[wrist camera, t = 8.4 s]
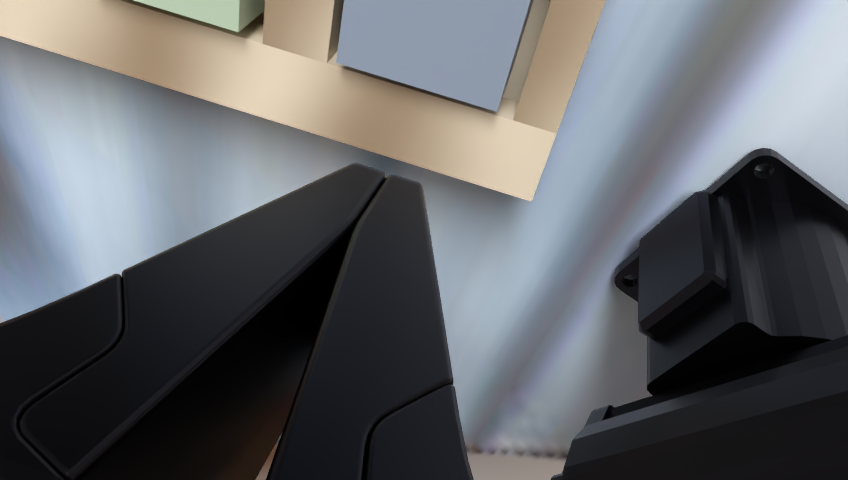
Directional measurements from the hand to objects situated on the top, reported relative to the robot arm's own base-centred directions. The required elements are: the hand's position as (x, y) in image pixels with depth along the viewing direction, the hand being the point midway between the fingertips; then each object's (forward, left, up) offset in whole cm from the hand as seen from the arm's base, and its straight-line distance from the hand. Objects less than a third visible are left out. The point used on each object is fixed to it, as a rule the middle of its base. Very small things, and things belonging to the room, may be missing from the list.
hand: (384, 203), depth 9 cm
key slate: (+1, +1, -11) cm, 11 cm away
